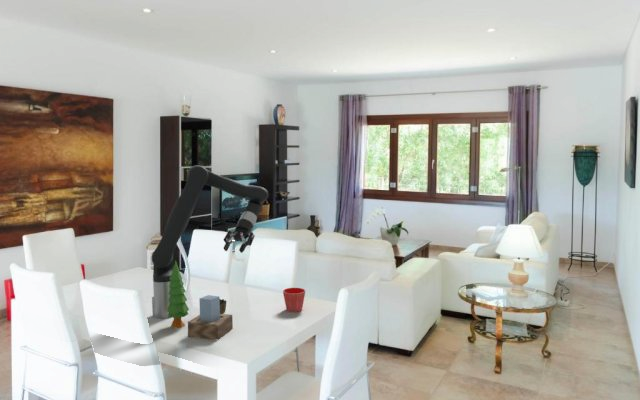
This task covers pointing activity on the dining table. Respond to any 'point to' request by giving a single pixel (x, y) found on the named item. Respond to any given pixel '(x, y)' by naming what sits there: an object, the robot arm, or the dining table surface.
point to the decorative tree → (177, 298)
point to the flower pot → (294, 299)
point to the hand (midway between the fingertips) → (232, 250)
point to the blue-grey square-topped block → (209, 308)
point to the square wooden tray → (210, 327)
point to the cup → (222, 306)
